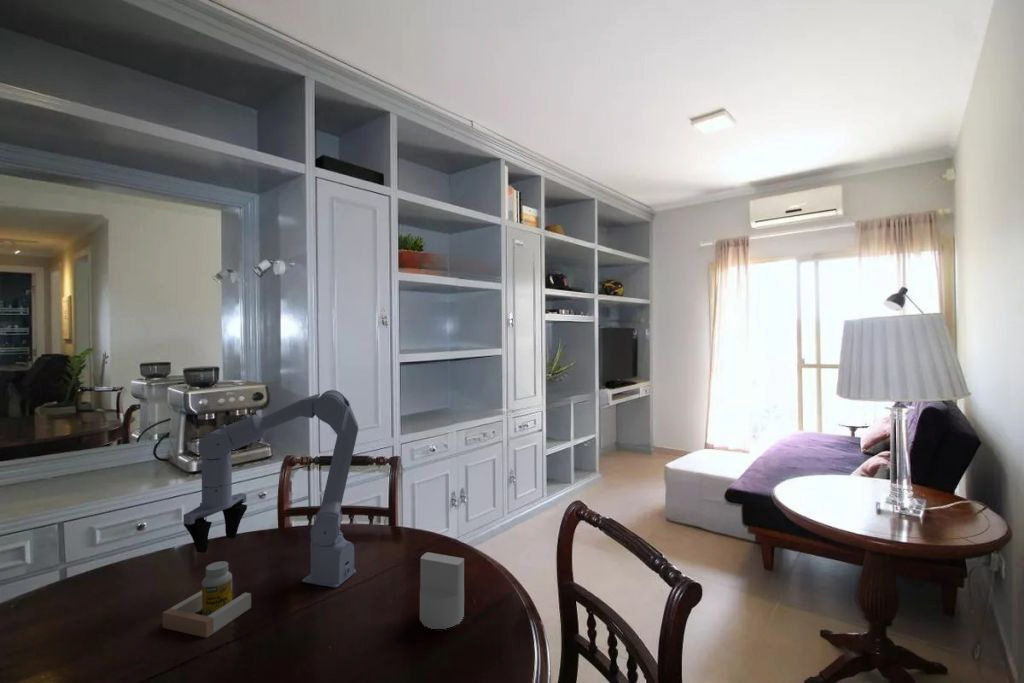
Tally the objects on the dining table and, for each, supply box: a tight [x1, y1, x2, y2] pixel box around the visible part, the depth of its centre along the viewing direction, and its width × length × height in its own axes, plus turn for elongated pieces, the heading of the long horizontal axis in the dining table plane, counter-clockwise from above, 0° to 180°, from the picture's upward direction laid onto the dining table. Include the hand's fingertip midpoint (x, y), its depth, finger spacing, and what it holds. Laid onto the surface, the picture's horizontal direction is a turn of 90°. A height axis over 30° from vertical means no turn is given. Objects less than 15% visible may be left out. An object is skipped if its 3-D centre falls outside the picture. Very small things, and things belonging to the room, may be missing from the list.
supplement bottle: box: [201, 560, 233, 616], centre depth 99 cm, size 5×5×10 cm
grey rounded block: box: [419, 552, 465, 630], centre depth 97 cm, size 9×9×12 cm
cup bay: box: [162, 590, 252, 638], centre depth 96 cm, size 11×10×3 cm
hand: (216, 544), depth 107 cm, fingers open, 7 cm apart
